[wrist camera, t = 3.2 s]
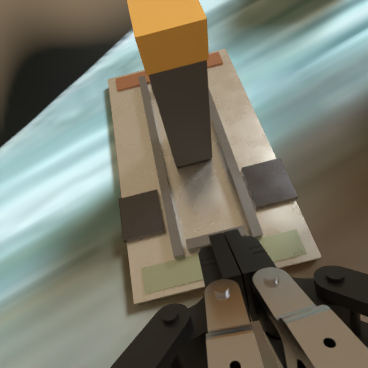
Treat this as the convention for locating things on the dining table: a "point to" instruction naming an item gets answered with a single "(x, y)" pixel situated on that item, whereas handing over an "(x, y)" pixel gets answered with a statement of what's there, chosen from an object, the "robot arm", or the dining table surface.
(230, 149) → the board
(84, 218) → the dining table surface
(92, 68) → the dining table surface
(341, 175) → the dining table surface
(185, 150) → the handle
